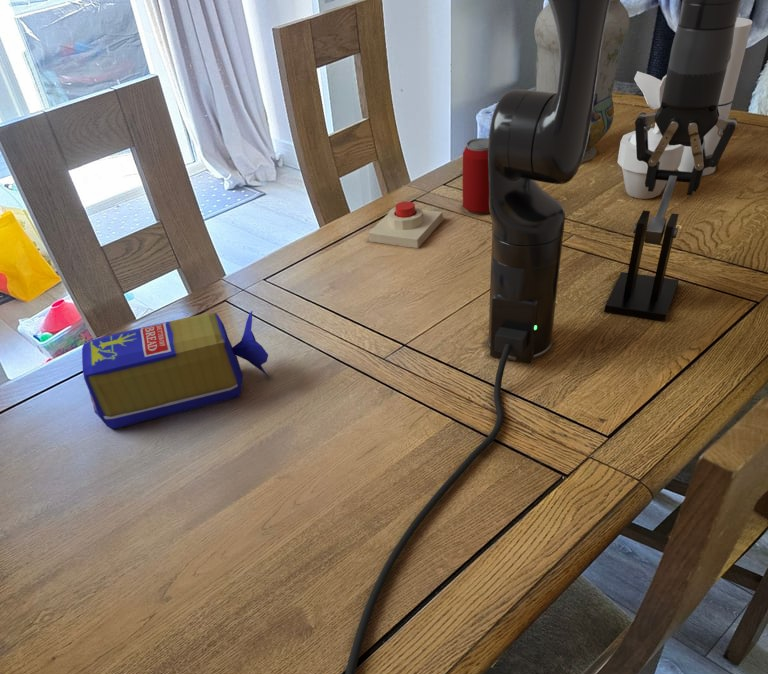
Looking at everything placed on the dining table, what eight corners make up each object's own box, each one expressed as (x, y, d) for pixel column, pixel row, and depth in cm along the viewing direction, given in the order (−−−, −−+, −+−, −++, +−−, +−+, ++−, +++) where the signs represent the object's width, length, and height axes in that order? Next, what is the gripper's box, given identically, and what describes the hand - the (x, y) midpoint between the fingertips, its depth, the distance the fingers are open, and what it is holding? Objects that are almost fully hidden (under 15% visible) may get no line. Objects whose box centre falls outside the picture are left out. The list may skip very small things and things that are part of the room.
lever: (657, 177, 107) (659, 164, 105) (691, 180, 105) (693, 167, 103) (634, 241, 103) (636, 229, 101) (669, 246, 101) (672, 233, 99)
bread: (100, 397, 103) (72, 336, 95) (264, 357, 106) (249, 295, 99) (102, 438, 96) (72, 375, 88) (277, 393, 100) (262, 330, 92)
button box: (417, 248, 127) (417, 229, 125) (369, 241, 131) (367, 223, 128) (442, 220, 134) (442, 202, 132) (396, 214, 138) (394, 196, 135)
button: (410, 220, 129) (409, 210, 127) (392, 217, 130) (392, 208, 129) (418, 211, 131) (417, 202, 129) (400, 209, 132) (400, 200, 131)
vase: (622, 145, 153) (648, -24, 132) (592, 175, 144) (616, -2, 122) (545, 135, 161) (558, -26, 139) (512, 163, 151) (521, -6, 129)
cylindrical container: (677, 175, 140) (709, 27, 122) (677, 161, 145) (708, 17, 127) (715, 176, 138) (753, 26, 120) (714, 162, 143) (751, 16, 125)
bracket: (620, 278, 114) (634, 199, 105) (677, 286, 111) (697, 206, 102) (604, 312, 108) (617, 231, 98) (664, 321, 104) (684, 239, 95)
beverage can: (496, 200, 139) (499, 135, 130) (497, 215, 134) (499, 149, 125) (462, 201, 140) (463, 137, 131) (462, 216, 135) (462, 150, 126)
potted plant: (687, 196, 133) (723, 43, 115) (636, 210, 131) (664, 56, 113) (646, 175, 141) (674, 29, 123) (597, 188, 139) (618, 40, 121)
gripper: (637, 69, 94) (617, 196, 106) (752, 73, 89) (717, 207, 101) (648, 54, 99) (628, 177, 111) (758, 57, 94) (724, 186, 106)
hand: (670, 191), depth 106 cm, fingers closed on lever, 5 cm apart
